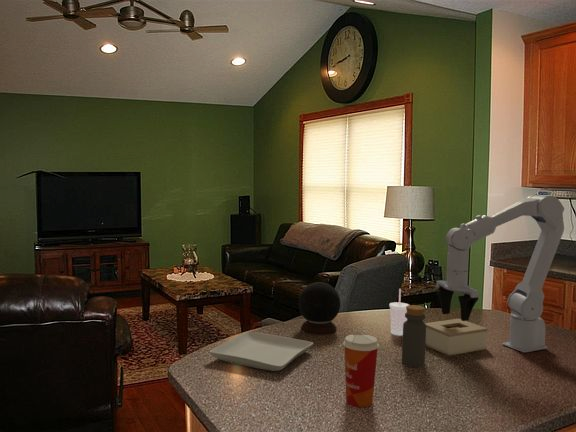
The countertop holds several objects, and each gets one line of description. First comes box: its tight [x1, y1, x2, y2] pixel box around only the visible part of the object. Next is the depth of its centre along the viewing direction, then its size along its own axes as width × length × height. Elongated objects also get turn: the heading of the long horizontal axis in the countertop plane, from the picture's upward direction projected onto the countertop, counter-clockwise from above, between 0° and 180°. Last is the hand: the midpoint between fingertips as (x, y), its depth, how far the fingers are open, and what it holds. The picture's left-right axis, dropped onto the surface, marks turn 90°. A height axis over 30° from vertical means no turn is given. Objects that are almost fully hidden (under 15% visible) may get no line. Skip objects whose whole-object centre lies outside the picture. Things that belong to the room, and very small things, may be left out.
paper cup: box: [342, 333, 380, 408], centre depth 115 cm, size 8×8×14 cm
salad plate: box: [208, 331, 314, 372], centre depth 142 cm, size 21×21×3 cm
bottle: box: [401, 304, 427, 368], centre depth 139 cm, size 6×6×15 cm
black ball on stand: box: [298, 281, 341, 336], centre depth 168 cm, size 13×13×15 cm
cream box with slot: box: [424, 318, 488, 356], centre depth 154 cm, size 14×11×6 cm
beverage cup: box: [388, 288, 410, 336], centre depth 165 cm, size 6×6×14 cm
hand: (455, 317), depth 153 cm, fingers open, 7 cm apart
